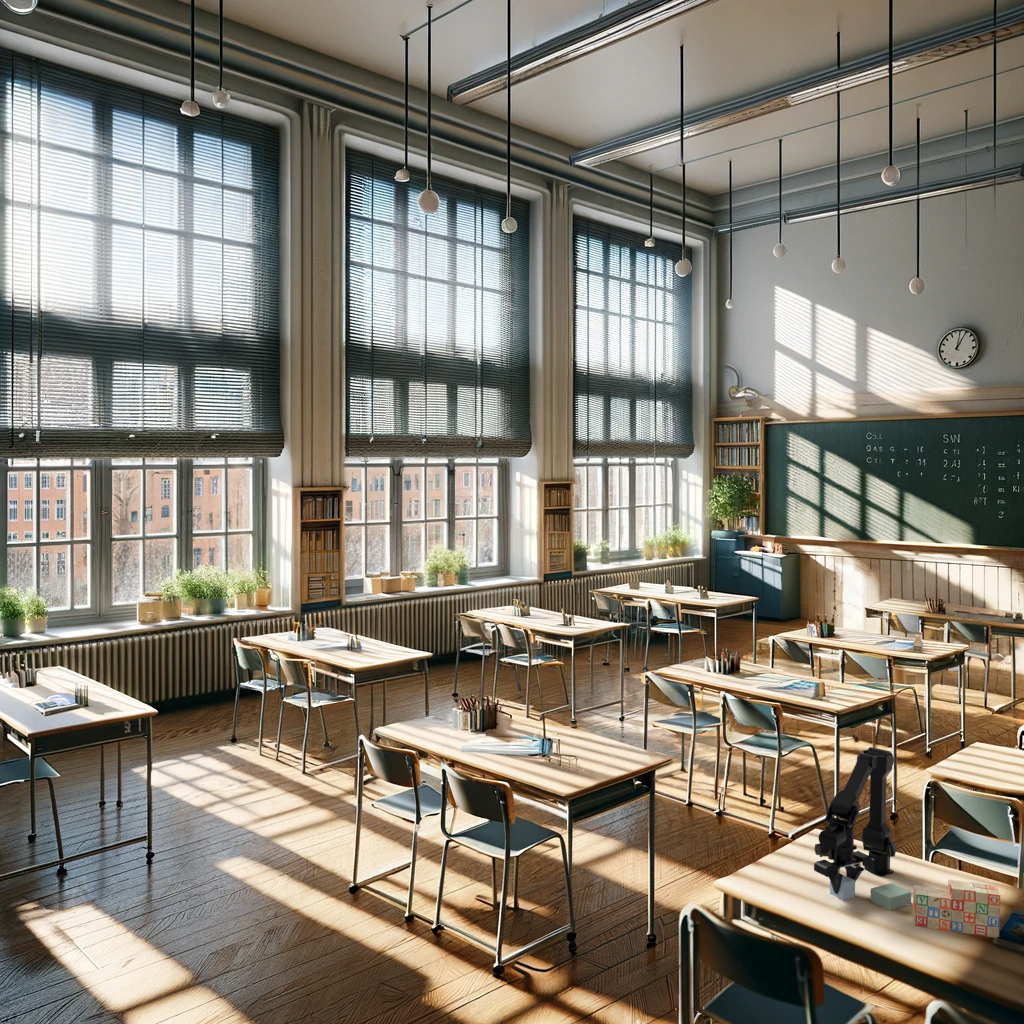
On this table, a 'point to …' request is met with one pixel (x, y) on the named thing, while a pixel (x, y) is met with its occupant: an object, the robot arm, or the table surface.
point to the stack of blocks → (958, 908)
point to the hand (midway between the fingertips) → (842, 891)
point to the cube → (845, 888)
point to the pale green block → (890, 896)
